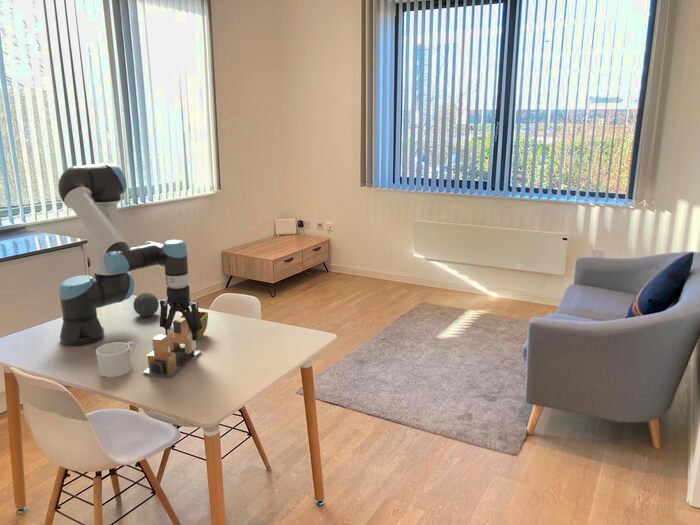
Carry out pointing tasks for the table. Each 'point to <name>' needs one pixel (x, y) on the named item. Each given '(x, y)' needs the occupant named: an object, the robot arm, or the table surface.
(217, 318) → the table surface
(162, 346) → the rail base
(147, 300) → the decorative ball
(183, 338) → the tan wooden arch block
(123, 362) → the mug
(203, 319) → the flower pot
